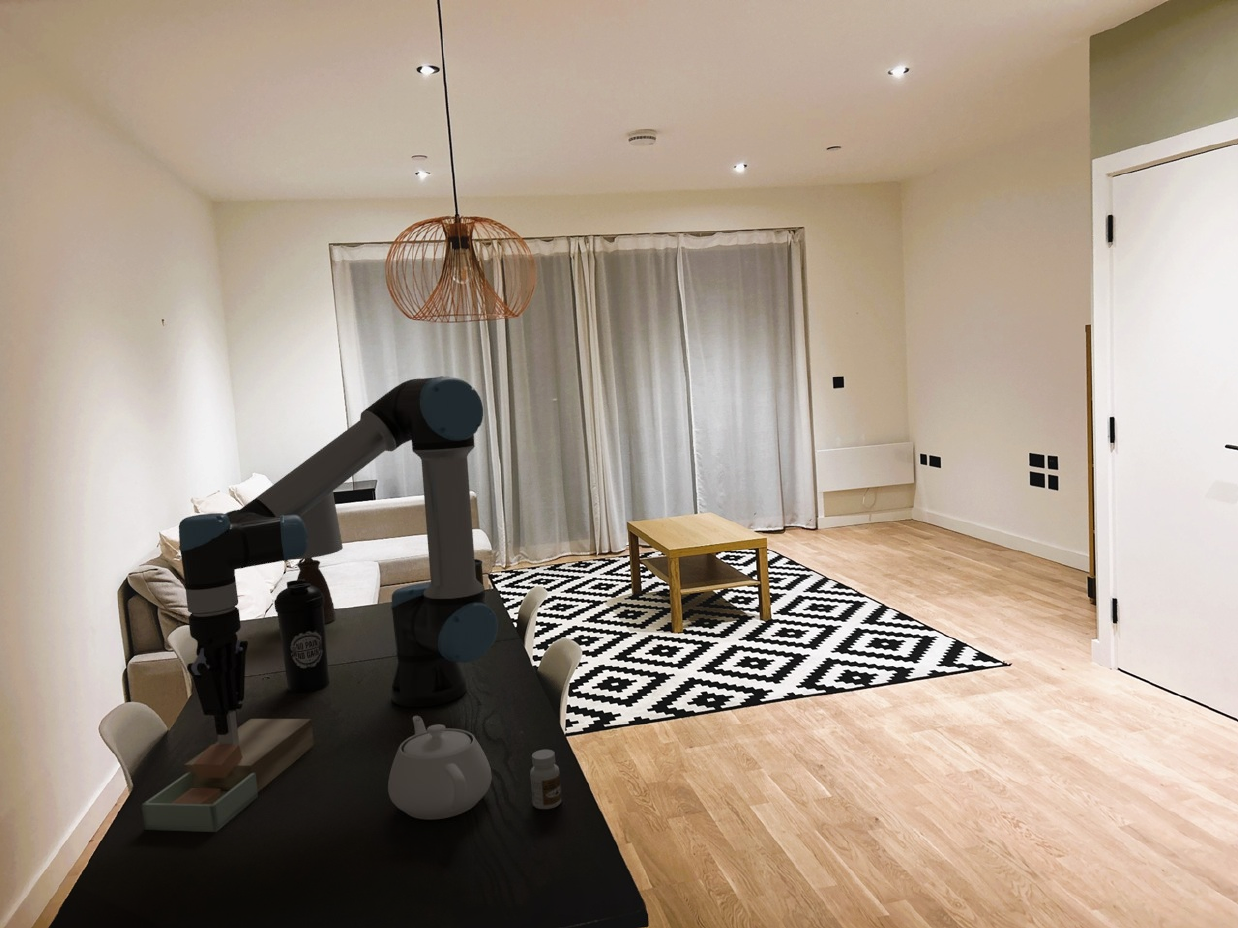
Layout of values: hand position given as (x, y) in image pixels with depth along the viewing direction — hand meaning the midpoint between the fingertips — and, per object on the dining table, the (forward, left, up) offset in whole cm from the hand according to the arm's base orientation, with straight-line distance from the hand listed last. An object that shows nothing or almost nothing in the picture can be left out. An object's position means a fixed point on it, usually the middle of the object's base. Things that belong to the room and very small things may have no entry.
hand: (229, 750), depth 150 cm
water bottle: (+13, -47, -7) cm, 49 cm away
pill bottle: (-54, +3, -7) cm, 55 cm away
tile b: (0, +9, -3) cm, 10 cm away
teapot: (-37, +3, -7) cm, 38 cm away
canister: (-9, -87, -7) cm, 88 cm away
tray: (0, +8, -6) cm, 11 cm away
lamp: (+39, -97, -7) cm, 105 cm away
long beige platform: (+1, -7, -6) cm, 10 cm away
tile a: (0, +3, -2) cm, 3 cm away
